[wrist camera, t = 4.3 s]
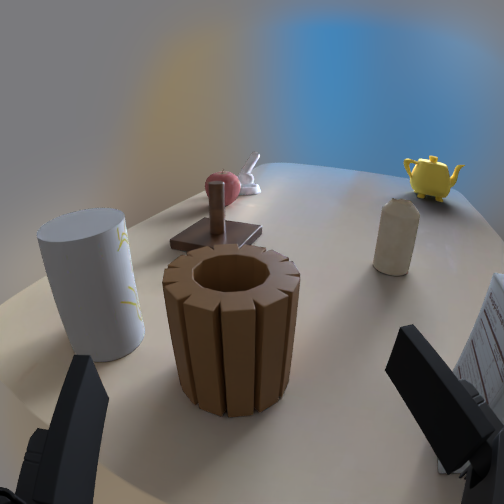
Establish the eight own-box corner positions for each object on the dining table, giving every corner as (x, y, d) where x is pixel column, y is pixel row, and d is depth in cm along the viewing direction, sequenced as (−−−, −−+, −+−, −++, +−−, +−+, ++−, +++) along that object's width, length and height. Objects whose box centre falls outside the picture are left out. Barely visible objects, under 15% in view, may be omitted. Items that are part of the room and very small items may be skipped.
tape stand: (170, 248, 48) (165, 188, 44) (204, 225, 57) (202, 173, 53) (235, 260, 45) (234, 194, 41) (262, 233, 54) (263, 178, 50)
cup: (157, 344, 29) (136, 224, 23) (80, 372, 24) (37, 251, 19) (129, 304, 34) (112, 202, 29) (65, 325, 30) (36, 221, 25)
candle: (397, 280, 40) (411, 209, 35) (365, 265, 44) (376, 197, 39) (414, 268, 43) (427, 203, 38) (384, 255, 47) (395, 193, 42)
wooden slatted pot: (160, 393, 23) (135, 289, 19) (210, 331, 31) (204, 237, 26) (266, 431, 20) (274, 326, 16) (299, 354, 28) (311, 255, 23)
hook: (280, 169, 81) (271, 156, 75) (257, 208, 81) (246, 199, 75) (257, 160, 84) (247, 147, 78) (235, 197, 84) (222, 188, 78)
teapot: (465, 208, 75) (472, 166, 70) (402, 196, 81) (407, 153, 76) (453, 197, 87) (459, 160, 81) (397, 186, 92) (402, 148, 87)
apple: (222, 198, 74) (222, 164, 70) (246, 204, 69) (246, 168, 66) (198, 205, 68) (197, 169, 65) (222, 212, 64) (222, 173, 61)
